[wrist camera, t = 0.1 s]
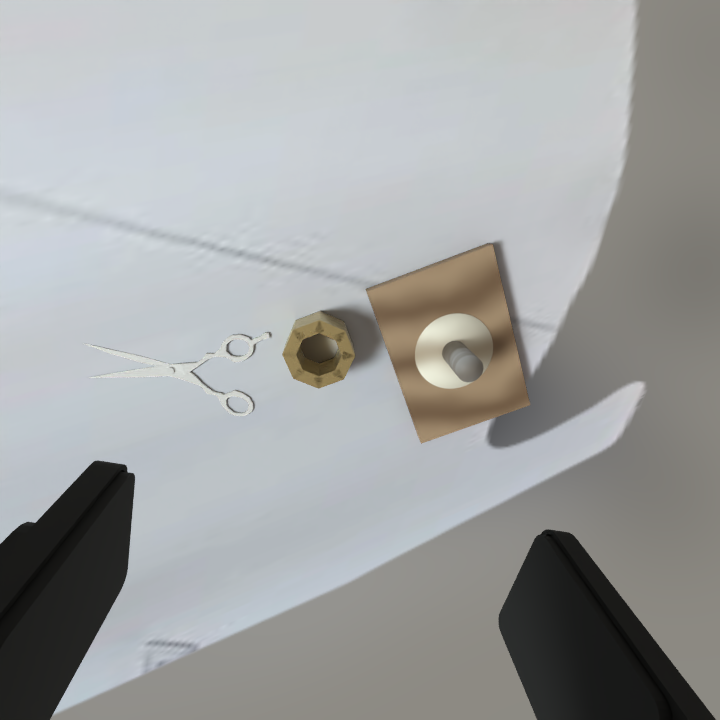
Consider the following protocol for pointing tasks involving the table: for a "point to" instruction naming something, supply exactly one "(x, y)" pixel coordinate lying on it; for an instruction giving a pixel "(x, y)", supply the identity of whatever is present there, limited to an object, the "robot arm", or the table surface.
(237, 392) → the scissors
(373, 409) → the table surface
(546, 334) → the table surface
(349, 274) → the table surface
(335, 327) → the ring
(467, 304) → the post plate
